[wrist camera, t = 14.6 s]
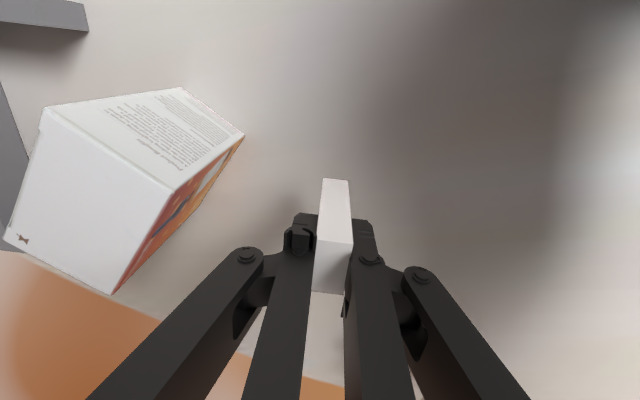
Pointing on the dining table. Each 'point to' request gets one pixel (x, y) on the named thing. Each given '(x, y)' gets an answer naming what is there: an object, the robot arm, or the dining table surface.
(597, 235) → the dining table surface
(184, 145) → the small box
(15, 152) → the square bracket
